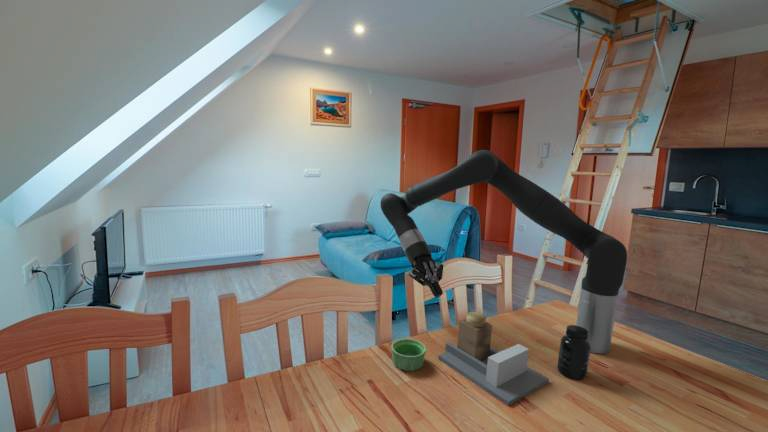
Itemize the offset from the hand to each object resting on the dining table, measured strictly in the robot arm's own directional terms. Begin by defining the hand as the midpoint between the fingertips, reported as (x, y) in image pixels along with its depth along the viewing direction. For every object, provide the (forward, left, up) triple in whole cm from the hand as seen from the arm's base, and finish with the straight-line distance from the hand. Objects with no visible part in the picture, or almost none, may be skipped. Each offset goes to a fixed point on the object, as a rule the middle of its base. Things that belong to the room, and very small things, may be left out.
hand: (439, 295), depth 107 cm
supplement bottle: (-17, +32, -13) cm, 39 cm away
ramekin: (+16, +6, -13) cm, 22 cm away
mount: (0, +20, -13) cm, 24 cm away
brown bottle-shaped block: (0, +14, -12) cm, 18 cm away
